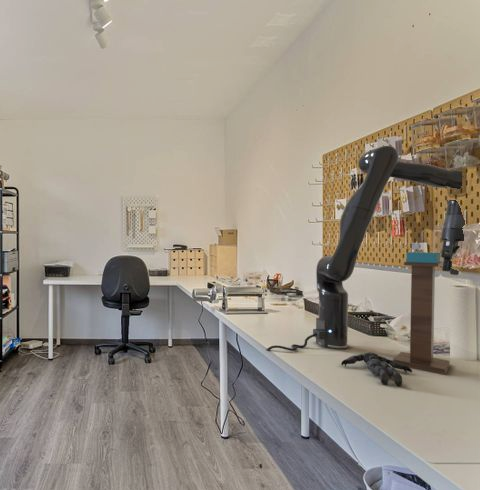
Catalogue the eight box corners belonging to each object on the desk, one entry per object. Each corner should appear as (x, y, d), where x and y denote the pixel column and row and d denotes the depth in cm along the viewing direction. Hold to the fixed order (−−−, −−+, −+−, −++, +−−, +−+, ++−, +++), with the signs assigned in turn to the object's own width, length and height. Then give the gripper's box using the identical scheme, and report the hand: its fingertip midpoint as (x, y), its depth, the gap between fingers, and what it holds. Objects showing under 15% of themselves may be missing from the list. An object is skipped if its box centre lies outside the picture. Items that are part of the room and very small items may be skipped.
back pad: (436, 263, 107) (436, 253, 107) (406, 262, 112) (406, 252, 112) (443, 261, 120) (444, 252, 120) (416, 260, 125) (416, 251, 125)
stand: (445, 374, 105) (447, 263, 104) (393, 364, 114) (395, 261, 113) (449, 365, 113) (451, 262, 112) (400, 356, 122) (402, 260, 121)
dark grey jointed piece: (432, 392, 93) (399, 365, 112) (433, 375, 93) (400, 351, 112) (352, 383, 99) (334, 358, 118) (353, 367, 99) (334, 345, 118)
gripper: (449, 232, 136) (443, 274, 136) (436, 224, 129) (429, 268, 128) (476, 233, 130) (470, 277, 129) (464, 224, 123) (458, 271, 122)
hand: (450, 272), depth 129 cm, fingers open, 8 cm apart
